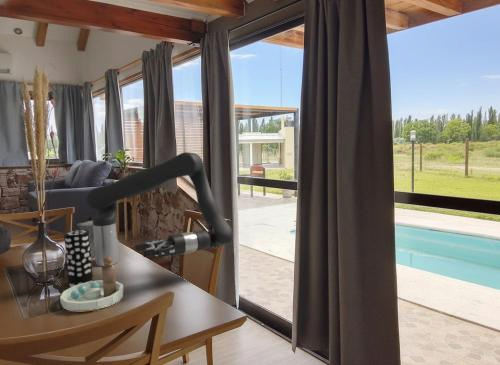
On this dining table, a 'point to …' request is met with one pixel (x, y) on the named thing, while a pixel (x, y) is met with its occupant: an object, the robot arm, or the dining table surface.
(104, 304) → the tray
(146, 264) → the dining table surface
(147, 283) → the dining table surface
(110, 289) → the pepper mill
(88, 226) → the coffeepot
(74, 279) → the white-spotted black cylinder
